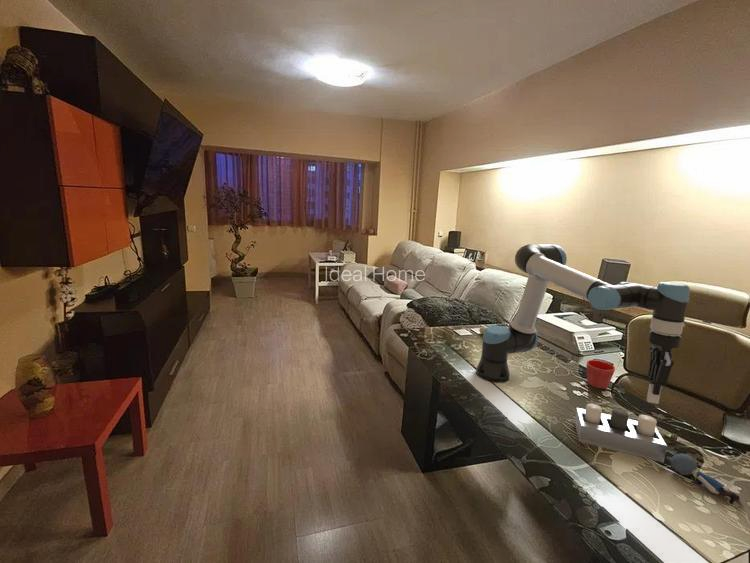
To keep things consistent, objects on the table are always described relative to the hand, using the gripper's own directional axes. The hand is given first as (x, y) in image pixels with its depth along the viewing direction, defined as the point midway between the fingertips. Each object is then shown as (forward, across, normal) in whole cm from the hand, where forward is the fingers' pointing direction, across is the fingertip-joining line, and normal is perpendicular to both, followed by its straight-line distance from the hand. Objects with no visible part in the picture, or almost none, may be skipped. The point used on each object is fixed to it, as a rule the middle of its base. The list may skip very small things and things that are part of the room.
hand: (652, 401), depth 108 cm
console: (+17, 0, +8) cm, 19 cm away
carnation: (+16, +77, +53) cm, 95 cm away
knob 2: (+12, 0, 0) cm, 12 cm away
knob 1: (+12, 0, +15) cm, 20 cm away
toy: (+17, -11, -10) cm, 23 cm away
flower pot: (+17, +45, +6) cm, 49 cm away
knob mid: (+12, 0, +8) cm, 15 cm away
